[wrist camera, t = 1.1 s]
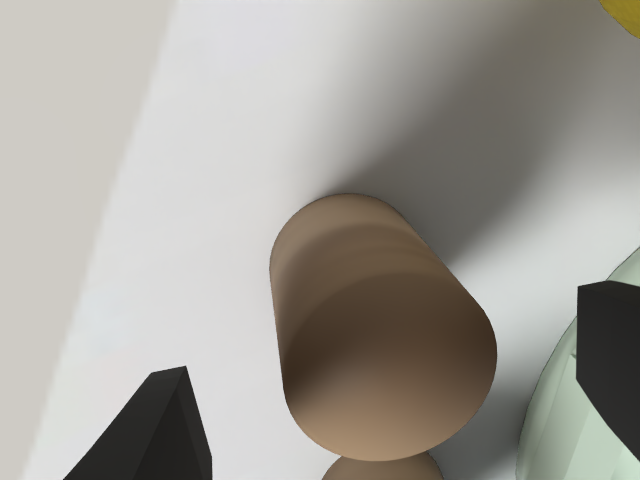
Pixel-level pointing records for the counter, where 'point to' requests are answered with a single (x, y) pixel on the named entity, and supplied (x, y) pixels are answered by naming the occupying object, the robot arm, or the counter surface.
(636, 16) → the lemon
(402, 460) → the bead
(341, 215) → the bead
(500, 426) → the counter surface
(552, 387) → the tray
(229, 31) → the counter surface
